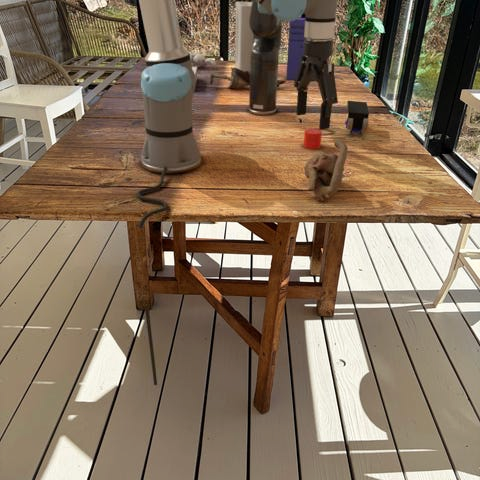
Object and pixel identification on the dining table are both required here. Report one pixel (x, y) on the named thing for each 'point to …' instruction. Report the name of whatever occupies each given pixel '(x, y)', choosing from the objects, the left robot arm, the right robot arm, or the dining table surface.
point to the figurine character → (357, 116)
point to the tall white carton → (243, 36)
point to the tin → (312, 138)
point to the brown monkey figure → (326, 171)
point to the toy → (200, 59)
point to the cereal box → (295, 47)
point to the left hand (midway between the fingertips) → (312, 121)
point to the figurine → (239, 78)
